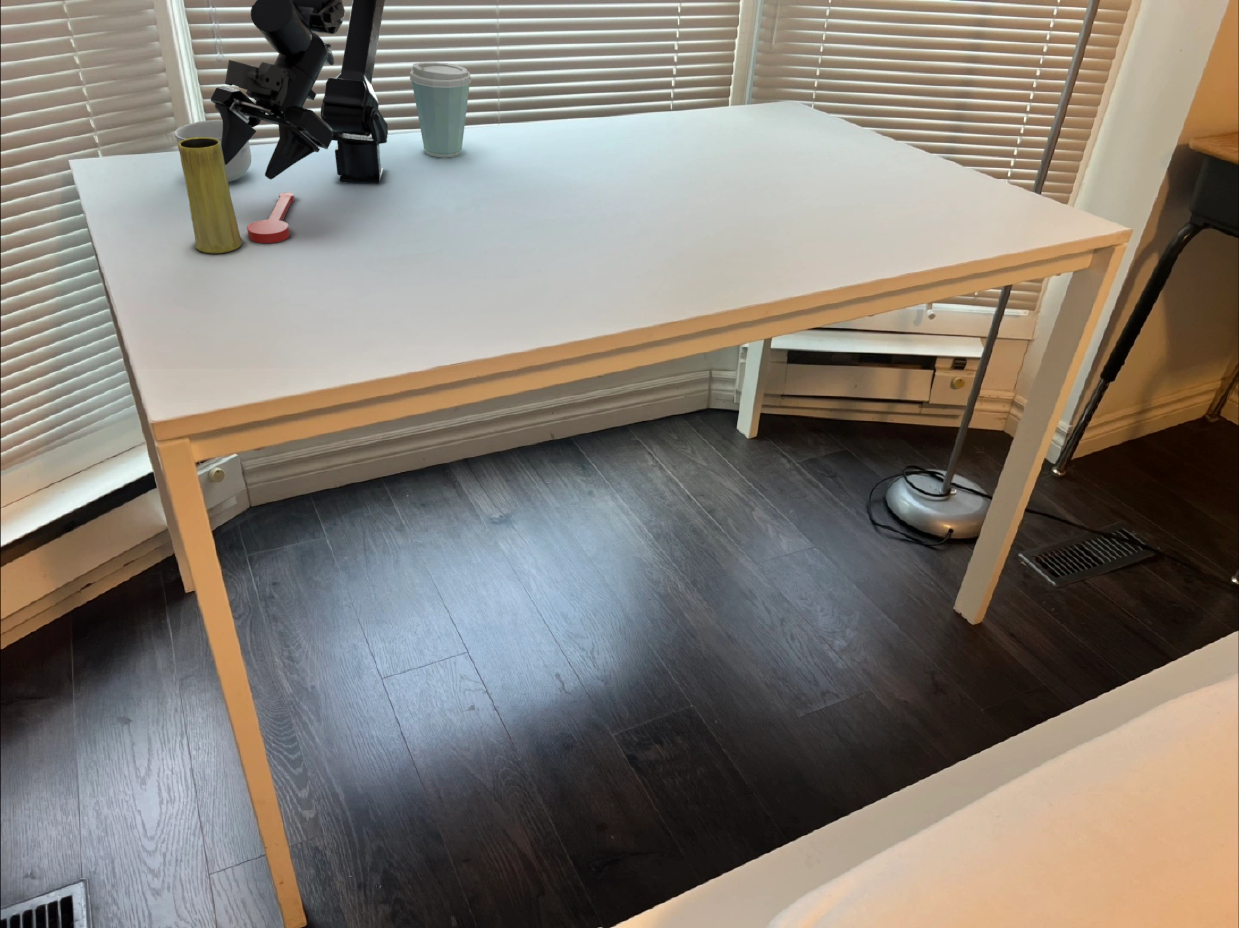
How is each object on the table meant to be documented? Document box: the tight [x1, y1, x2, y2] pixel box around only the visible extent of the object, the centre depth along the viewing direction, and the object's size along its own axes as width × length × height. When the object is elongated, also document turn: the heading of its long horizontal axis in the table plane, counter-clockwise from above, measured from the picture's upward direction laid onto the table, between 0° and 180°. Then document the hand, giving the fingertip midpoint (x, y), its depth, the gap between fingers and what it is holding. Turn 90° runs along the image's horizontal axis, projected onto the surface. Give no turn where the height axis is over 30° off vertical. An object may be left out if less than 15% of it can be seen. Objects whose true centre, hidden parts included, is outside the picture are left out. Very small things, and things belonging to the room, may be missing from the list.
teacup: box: [173, 118, 252, 183], centre depth 154 cm, size 14×11×8 cm
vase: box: [177, 137, 243, 255], centre depth 129 cm, size 6×6×14 cm
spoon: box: [246, 191, 296, 244], centre depth 142 cm, size 6×18×1 cm, turn 6°
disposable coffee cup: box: [409, 61, 472, 158], centre depth 168 cm, size 11×11×15 cm
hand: (244, 170), depth 132 cm, fingers open, 9 cm apart
